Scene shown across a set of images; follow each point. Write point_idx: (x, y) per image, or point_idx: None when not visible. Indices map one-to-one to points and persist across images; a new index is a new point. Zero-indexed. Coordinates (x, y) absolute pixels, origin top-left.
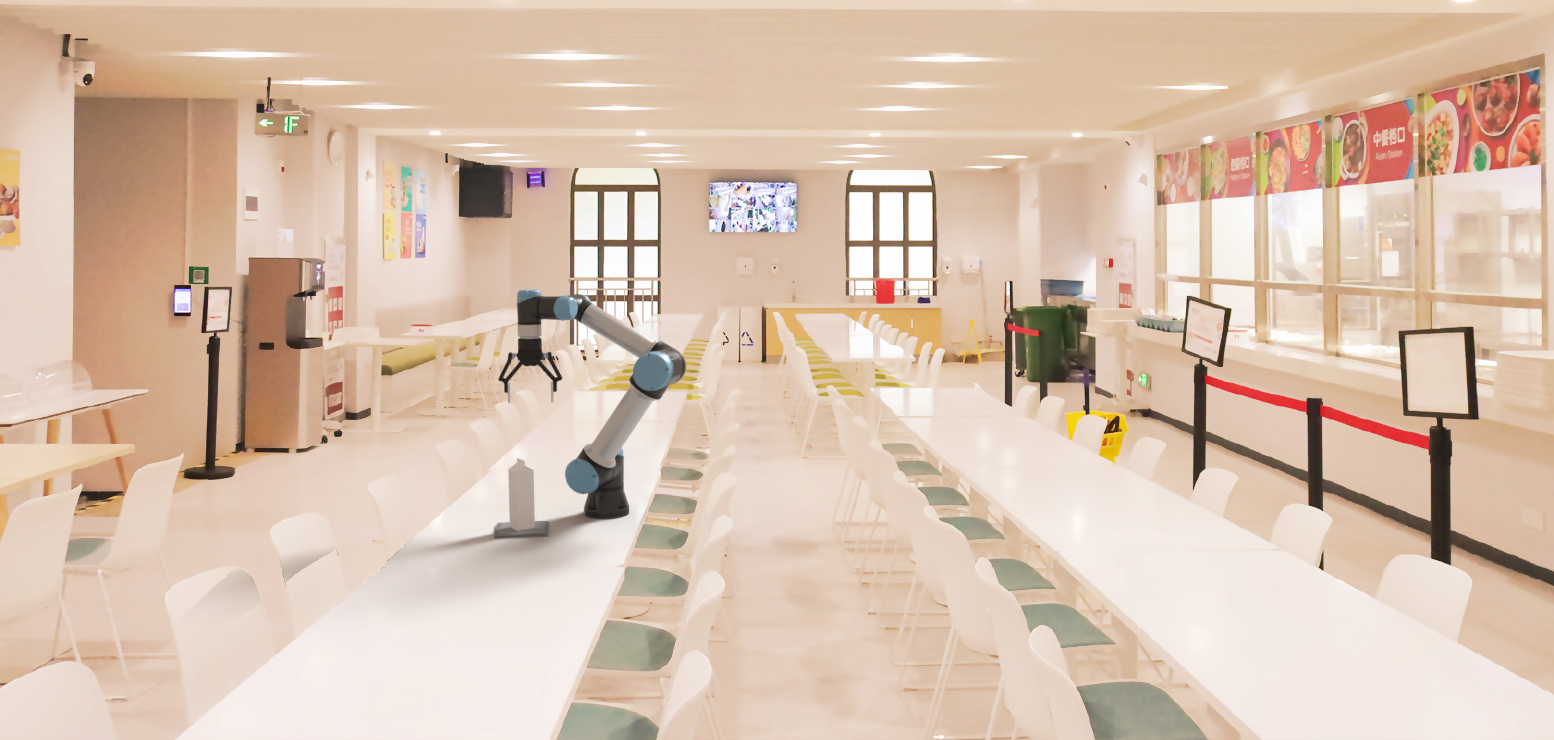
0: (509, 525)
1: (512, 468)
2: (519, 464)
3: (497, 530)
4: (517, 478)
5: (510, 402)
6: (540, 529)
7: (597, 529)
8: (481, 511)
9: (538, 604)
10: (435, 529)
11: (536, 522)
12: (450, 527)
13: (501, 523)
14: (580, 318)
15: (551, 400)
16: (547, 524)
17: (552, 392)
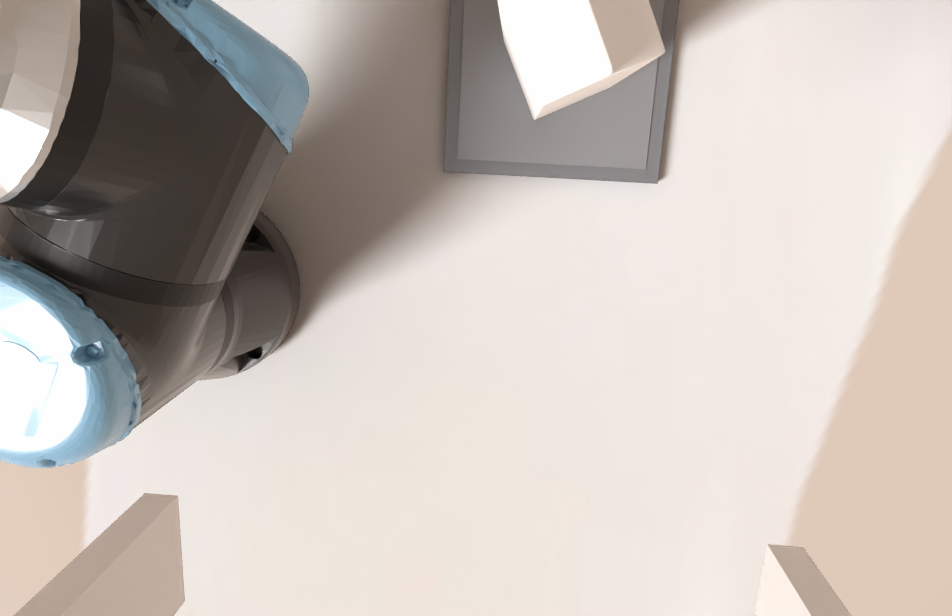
0: (610, 119)
1: (640, 14)
2: (593, 11)
3: (665, 45)
4: None
5: (772, 552)
6: (480, 16)
7: (243, 19)
8: (708, 428)
9: None
10: (919, 171)
11: (494, 146)
12: (854, 191)
13: (642, 161)
14: None
15: (155, 509)
16: (448, 105)
17: (55, 590)
